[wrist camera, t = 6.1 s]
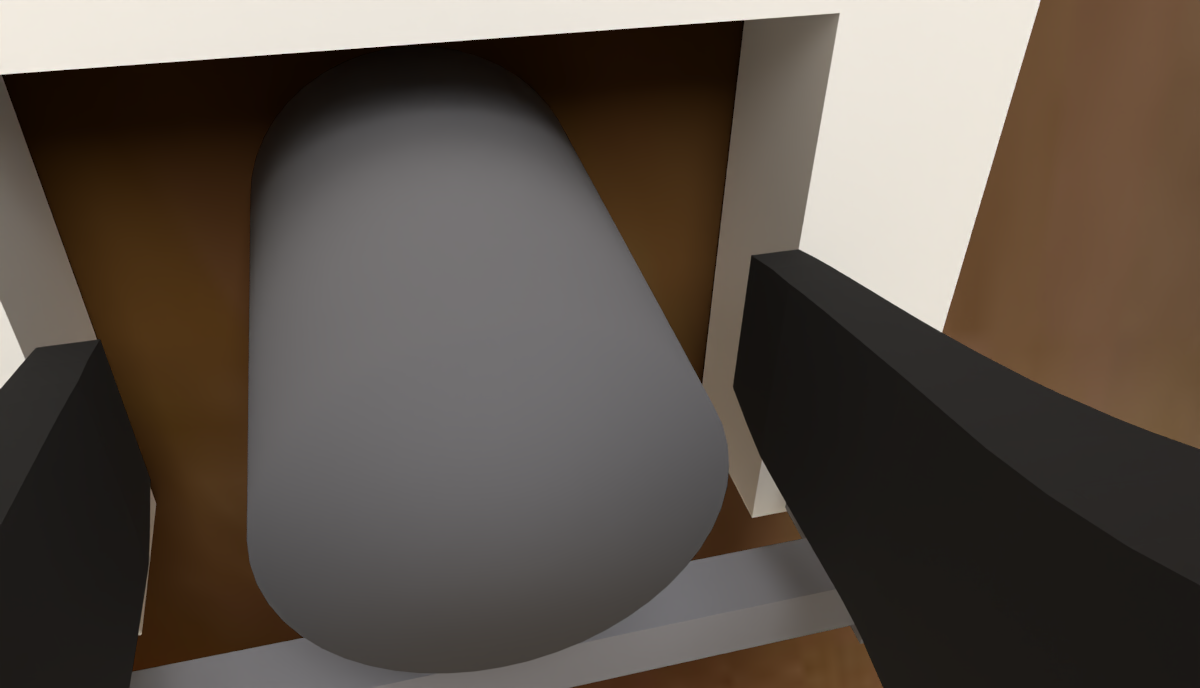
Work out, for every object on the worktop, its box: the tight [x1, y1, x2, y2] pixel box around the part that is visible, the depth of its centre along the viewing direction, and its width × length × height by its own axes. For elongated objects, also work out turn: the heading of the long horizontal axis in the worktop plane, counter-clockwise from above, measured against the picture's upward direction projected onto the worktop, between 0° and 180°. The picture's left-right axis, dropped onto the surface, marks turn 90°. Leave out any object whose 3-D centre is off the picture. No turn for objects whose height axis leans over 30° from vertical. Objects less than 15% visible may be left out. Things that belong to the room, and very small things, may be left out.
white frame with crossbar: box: [0, 0, 1040, 688], centre depth 11 cm, size 14×12×5 cm
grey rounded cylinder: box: [247, 46, 729, 673], centre depth 11 cm, size 4×4×6 cm
